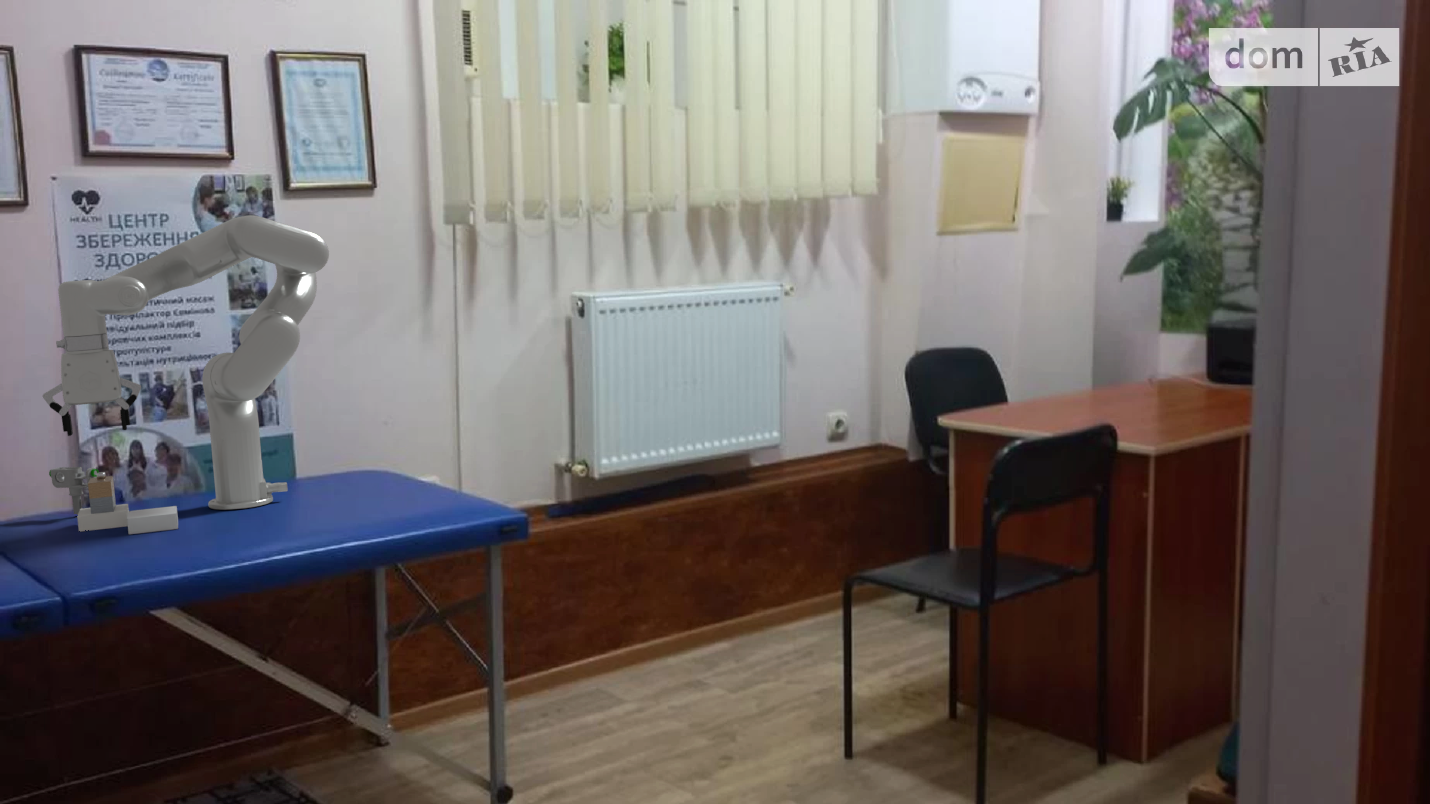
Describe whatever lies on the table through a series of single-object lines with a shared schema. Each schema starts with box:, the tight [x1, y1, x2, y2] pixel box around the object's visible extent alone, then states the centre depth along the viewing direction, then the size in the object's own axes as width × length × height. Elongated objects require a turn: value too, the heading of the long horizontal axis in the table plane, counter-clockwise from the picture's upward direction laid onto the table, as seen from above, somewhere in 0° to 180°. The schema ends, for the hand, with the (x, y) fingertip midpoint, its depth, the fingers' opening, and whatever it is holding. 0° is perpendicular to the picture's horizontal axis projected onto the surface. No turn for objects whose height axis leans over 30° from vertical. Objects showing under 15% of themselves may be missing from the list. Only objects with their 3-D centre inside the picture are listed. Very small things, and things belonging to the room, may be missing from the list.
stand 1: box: [76, 503, 130, 532], centre depth 251 cm, size 9×9×3 cm
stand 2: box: [127, 505, 179, 535], centre depth 247 cm, size 9×9×3 cm
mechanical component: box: [48, 466, 100, 515], centre depth 261 cm, size 3×10×10 cm, turn 79°
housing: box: [87, 471, 117, 514], centre depth 251 cm, size 7×4×7 cm, turn 22°
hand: (97, 432), depth 250 cm, fingers open, 9 cm apart
